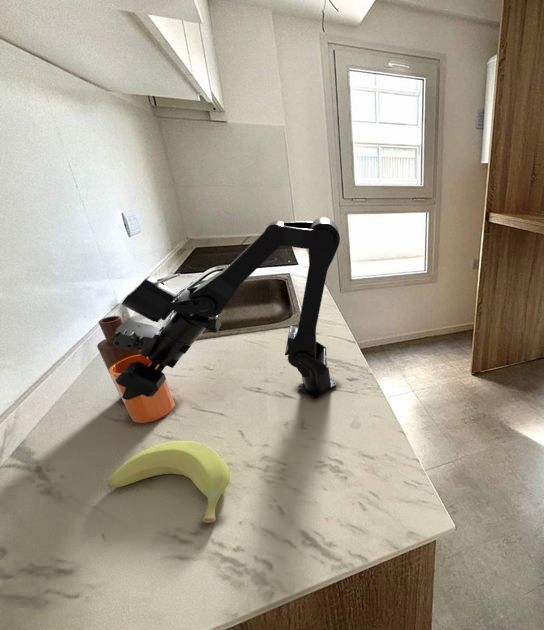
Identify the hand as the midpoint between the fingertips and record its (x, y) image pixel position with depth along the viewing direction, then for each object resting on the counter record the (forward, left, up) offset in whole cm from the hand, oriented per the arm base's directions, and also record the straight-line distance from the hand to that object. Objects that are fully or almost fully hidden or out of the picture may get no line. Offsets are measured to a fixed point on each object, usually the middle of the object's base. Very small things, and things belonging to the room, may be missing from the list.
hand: (135, 386), depth 67 cm
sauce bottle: (+8, -2, -7) cm, 10 cm away
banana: (-26, +4, -7) cm, 27 cm away
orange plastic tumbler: (-1, -1, -7) cm, 7 cm away
